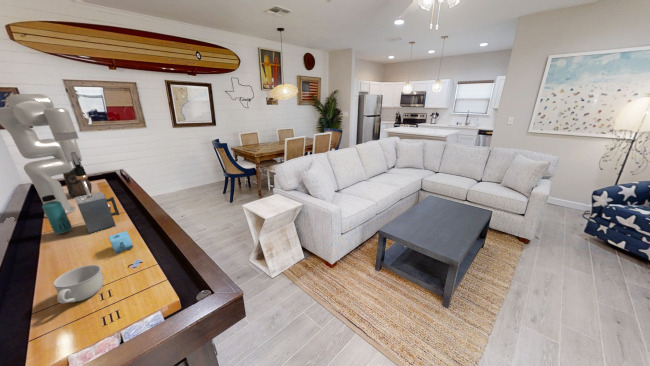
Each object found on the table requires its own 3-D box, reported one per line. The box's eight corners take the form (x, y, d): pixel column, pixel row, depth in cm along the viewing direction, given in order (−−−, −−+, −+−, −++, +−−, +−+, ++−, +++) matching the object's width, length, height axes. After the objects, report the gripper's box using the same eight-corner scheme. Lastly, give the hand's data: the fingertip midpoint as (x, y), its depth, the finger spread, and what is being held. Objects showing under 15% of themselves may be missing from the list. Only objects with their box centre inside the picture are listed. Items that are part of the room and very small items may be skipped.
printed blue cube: (135, 252, 101) (130, 236, 98) (117, 259, 96) (111, 243, 94) (129, 241, 108) (124, 227, 106) (112, 247, 104) (107, 232, 101)
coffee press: (87, 227, 121) (74, 197, 116) (119, 218, 131) (109, 189, 125) (89, 234, 115) (76, 202, 110) (123, 223, 125) (113, 194, 119)
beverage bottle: (61, 237, 113) (43, 199, 107) (51, 235, 115) (33, 198, 108) (77, 230, 119) (61, 193, 113) (67, 229, 121) (51, 192, 114)
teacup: (83, 283, 83) (74, 264, 81) (115, 280, 84) (108, 262, 82) (42, 317, 70) (30, 296, 68) (81, 314, 71) (70, 293, 68)
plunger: (82, 209, 118) (69, 175, 112) (103, 204, 124) (91, 172, 118) (84, 213, 113) (70, 179, 107) (105, 208, 119) (93, 174, 113)
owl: (94, 190, 174) (84, 164, 167) (94, 195, 166) (84, 167, 159) (69, 195, 166) (58, 168, 159) (69, 200, 157) (56, 172, 151)
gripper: (53, 136, 108) (69, 174, 114) (54, 139, 99) (71, 180, 105) (76, 134, 114) (90, 171, 120) (79, 136, 104) (94, 176, 110)
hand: (81, 175), depth 112 cm, fingers closed
